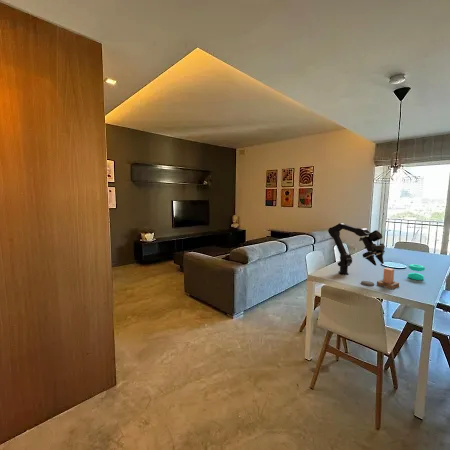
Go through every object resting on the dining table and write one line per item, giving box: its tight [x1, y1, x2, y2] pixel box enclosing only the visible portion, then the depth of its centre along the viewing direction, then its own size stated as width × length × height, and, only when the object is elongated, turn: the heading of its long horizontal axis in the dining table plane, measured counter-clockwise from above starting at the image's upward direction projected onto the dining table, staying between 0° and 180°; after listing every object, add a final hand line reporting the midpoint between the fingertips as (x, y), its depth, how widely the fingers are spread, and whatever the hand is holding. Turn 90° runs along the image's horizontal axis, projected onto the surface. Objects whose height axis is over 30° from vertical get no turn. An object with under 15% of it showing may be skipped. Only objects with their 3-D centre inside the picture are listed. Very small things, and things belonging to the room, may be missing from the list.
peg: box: [382, 267, 395, 284], centre depth 180 cm, size 5×5×12 cm
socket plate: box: [376, 279, 400, 290], centre depth 181 cm, size 10×10×2 cm
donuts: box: [407, 263, 426, 281], centre depth 197 cm, size 10×10×10 cm
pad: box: [360, 280, 375, 287], centre depth 184 cm, size 8×8×1 cm
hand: (379, 264), depth 183 cm, fingers open, 9 cm apart
